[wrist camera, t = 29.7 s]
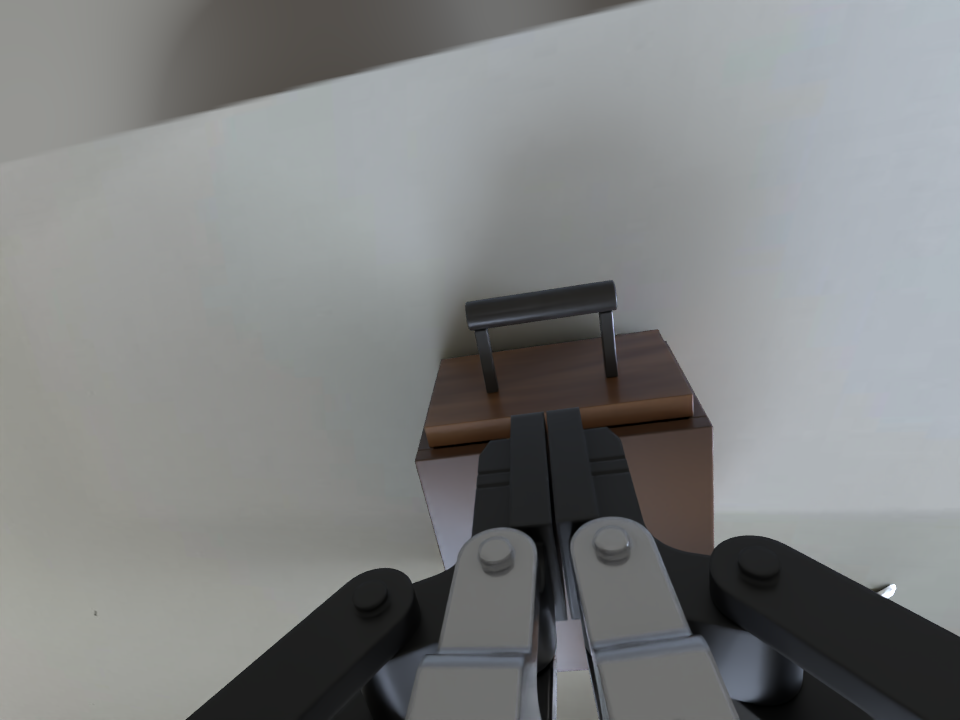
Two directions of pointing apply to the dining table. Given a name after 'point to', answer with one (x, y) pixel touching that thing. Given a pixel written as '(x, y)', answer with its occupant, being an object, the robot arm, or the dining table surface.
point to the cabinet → (657, 482)
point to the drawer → (554, 372)
